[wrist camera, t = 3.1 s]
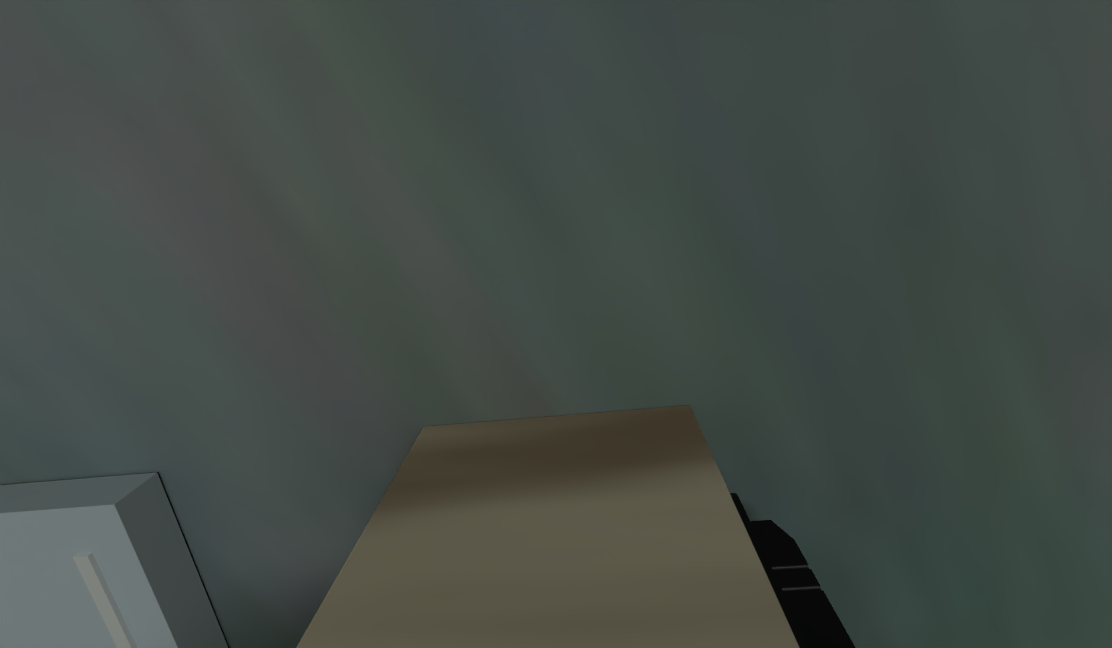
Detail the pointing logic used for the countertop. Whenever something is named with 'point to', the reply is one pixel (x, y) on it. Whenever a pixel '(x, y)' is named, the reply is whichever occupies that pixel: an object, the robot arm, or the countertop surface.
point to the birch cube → (555, 543)
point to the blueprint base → (98, 568)
